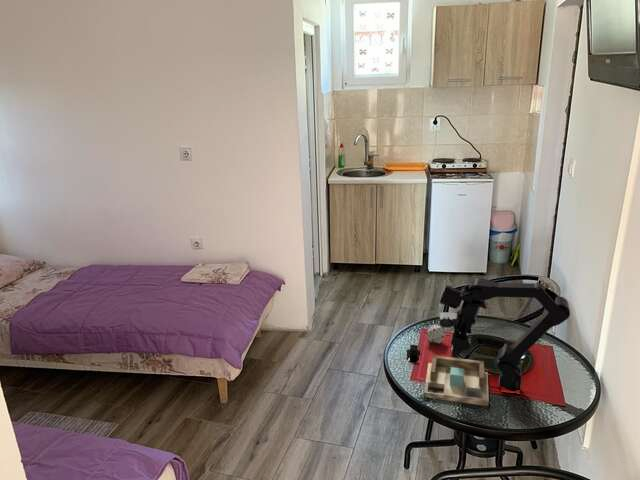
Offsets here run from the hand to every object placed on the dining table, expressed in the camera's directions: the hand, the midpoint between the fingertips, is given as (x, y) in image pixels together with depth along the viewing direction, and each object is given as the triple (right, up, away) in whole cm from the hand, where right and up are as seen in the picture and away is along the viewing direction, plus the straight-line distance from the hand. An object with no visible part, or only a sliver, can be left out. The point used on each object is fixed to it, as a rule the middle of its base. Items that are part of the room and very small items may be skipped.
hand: (453, 349), depth 177 cm
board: (+1, -13, 0) cm, 13 cm away
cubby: (+2, -10, +2) cm, 10 cm away
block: (+1, -11, -2) cm, 11 cm away
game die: (0, -3, +27) cm, 27 cm away
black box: (-11, -7, +19) cm, 23 cm away
